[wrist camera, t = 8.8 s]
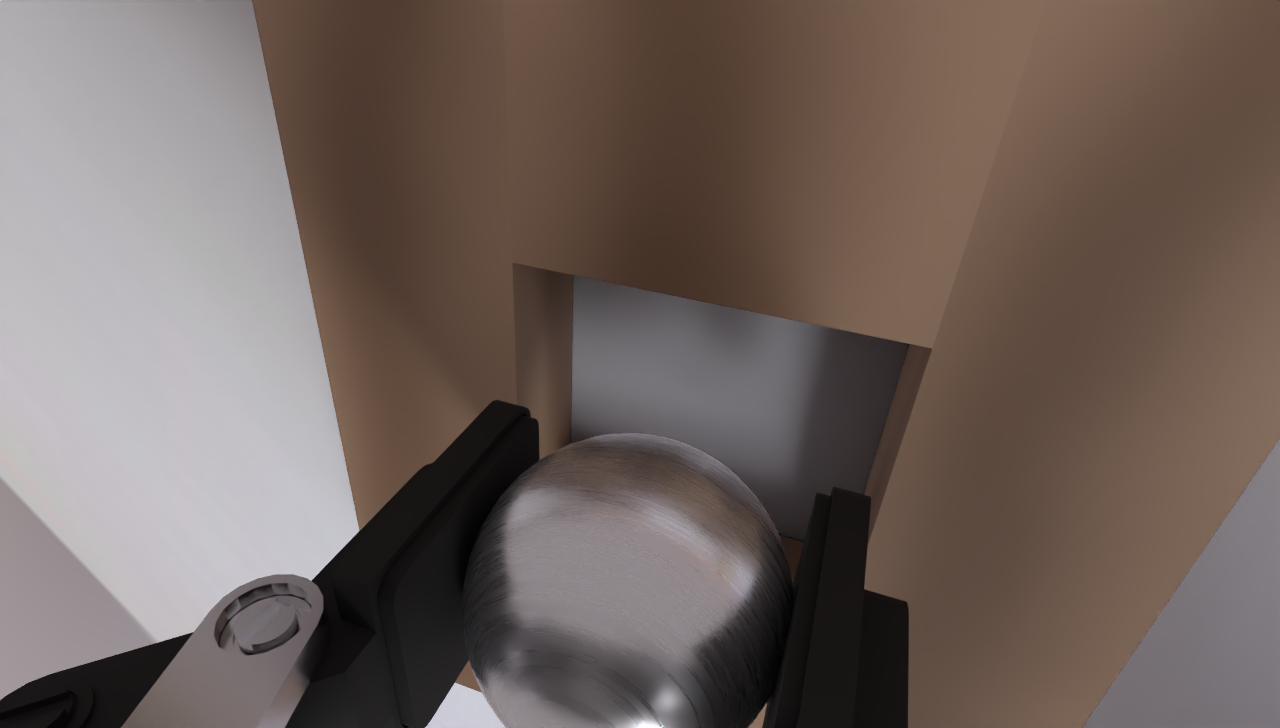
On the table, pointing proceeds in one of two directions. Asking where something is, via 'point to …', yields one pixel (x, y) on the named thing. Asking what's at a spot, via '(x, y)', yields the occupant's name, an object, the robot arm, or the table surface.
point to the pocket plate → (834, 266)
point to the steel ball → (627, 591)
